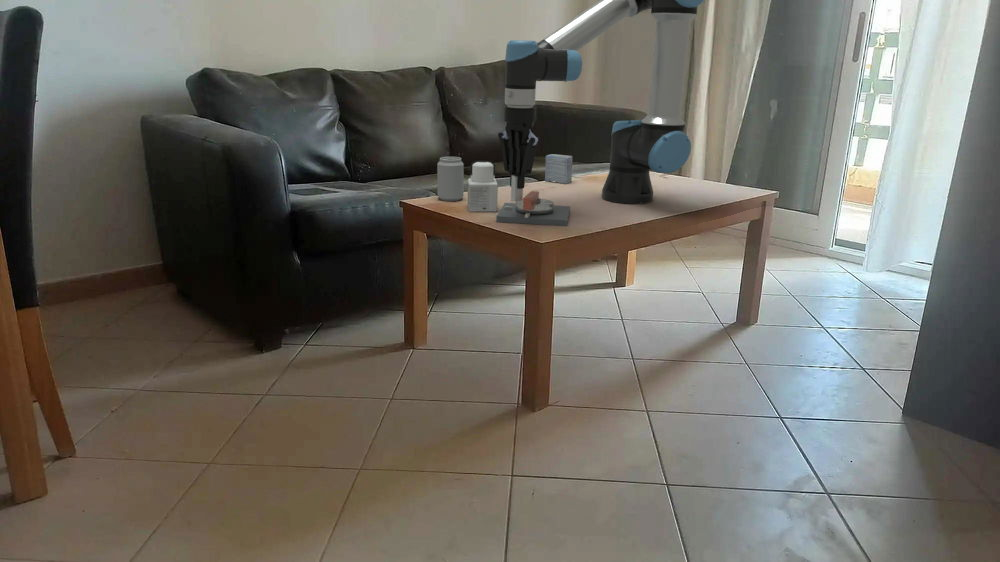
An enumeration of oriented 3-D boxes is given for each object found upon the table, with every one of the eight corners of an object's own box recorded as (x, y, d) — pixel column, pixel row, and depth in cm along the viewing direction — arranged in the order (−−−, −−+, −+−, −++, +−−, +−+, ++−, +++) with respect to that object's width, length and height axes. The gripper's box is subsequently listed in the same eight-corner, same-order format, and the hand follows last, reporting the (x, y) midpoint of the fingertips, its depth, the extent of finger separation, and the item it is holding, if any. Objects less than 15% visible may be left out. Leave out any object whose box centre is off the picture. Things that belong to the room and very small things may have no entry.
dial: (520, 204, 196) (521, 186, 195) (556, 207, 194) (557, 189, 192) (507, 215, 184) (508, 196, 182) (546, 219, 181) (546, 199, 180)
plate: (569, 211, 198) (570, 203, 197) (566, 225, 183) (567, 217, 182) (504, 208, 200) (504, 199, 199) (496, 221, 185) (496, 213, 184)
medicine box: (571, 182, 238) (573, 156, 235) (565, 184, 234) (567, 157, 231) (550, 179, 241) (551, 153, 239) (544, 181, 238) (545, 155, 235)
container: (467, 205, 202) (467, 159, 198) (495, 205, 203) (496, 159, 198) (468, 211, 195) (469, 163, 191) (497, 212, 195) (498, 164, 191)
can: (459, 202, 205) (459, 160, 201) (434, 200, 207) (434, 159, 203) (466, 197, 212) (466, 156, 208) (441, 195, 214) (441, 155, 210)
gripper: (490, 104, 179) (488, 198, 187) (527, 109, 170) (523, 207, 178) (512, 103, 184) (509, 194, 192) (549, 107, 175) (545, 203, 183)
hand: (516, 200), depth 185 cm, fingers closed
